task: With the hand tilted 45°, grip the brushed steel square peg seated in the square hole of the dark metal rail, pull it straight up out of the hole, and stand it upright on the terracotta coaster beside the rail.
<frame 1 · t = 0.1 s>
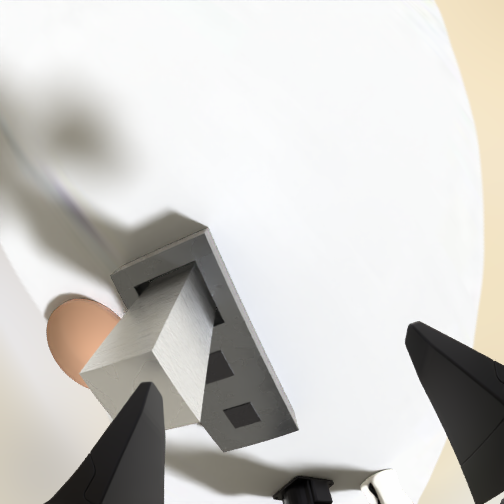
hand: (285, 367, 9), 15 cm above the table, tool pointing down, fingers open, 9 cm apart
rack rail: (184, 291, 25), on the table
terracotta coaster: (91, 345, 25), on the table
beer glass: (377, 479, 33), on the table
steel peg: (167, 329, 18), in the rack rail
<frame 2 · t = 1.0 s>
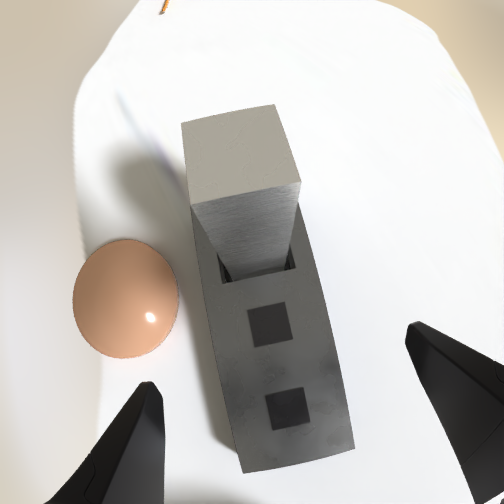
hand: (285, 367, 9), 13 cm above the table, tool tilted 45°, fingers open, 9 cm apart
rack rail: (253, 253, 24), on the table
terracotta coaster: (124, 299, 24), on the table
steel peg: (247, 219, 18), in the rack rail
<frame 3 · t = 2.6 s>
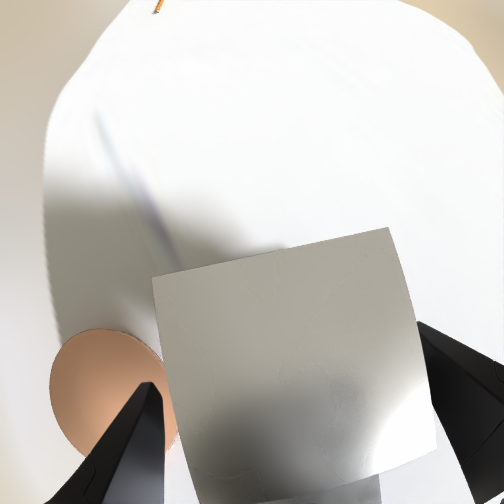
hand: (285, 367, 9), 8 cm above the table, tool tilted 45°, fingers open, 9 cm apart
rack rail: (277, 354, 17), on the table
terracotta coaster: (111, 401, 17), on the table
steel peg: (282, 359, 11), in the rack rail
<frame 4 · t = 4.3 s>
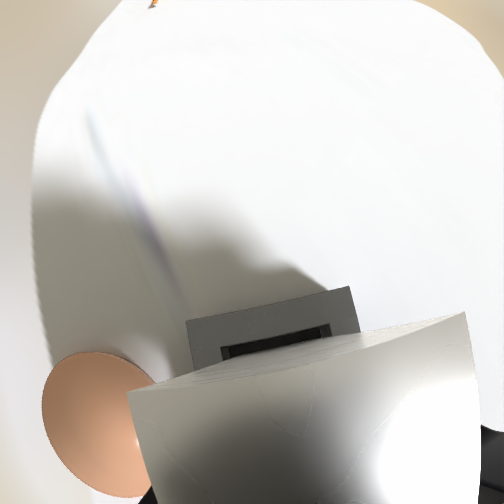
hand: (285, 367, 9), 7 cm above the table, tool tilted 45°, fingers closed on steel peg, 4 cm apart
rack rail: (283, 381, 16), on the table
terracotta coaster: (106, 426, 15), on the table
steel peg: (293, 406, 9), in the rack rail, touching gripper
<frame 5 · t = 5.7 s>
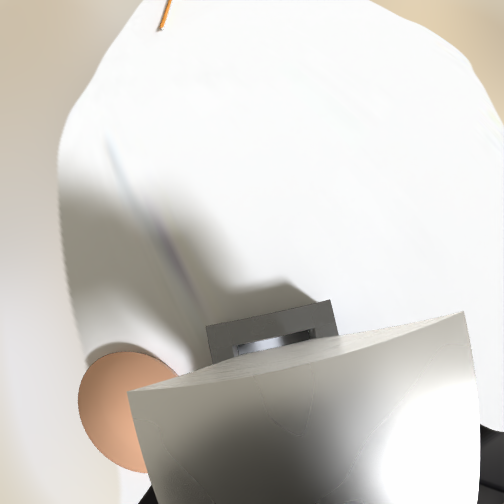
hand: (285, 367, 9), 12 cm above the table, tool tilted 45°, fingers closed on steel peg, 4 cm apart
rack rail: (280, 372, 20), on the table
terracotta coaster: (135, 413, 20), on the table
steel peg: (293, 406, 9), point 12 cm above the table, touching gripper
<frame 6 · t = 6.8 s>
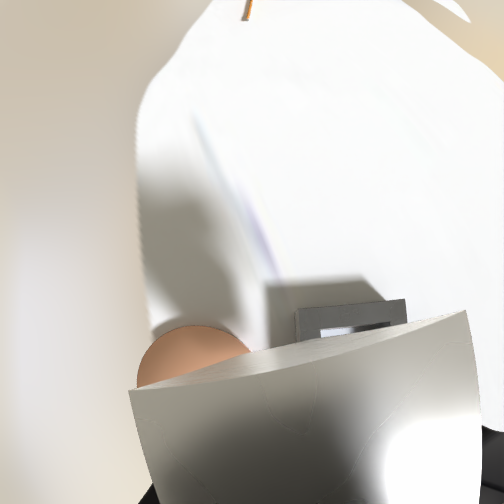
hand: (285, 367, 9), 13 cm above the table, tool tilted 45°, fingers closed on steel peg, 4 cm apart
rack rail: (348, 360, 22), on the table
terracotta coaster: (200, 388, 22), on the table
steel peg: (294, 405, 9), point 13 cm above the table, touching gripper
when the fingers open (9 cm above the table, at t = 8.8 s): steel peg stays where it is, resting on terracotta coaster.
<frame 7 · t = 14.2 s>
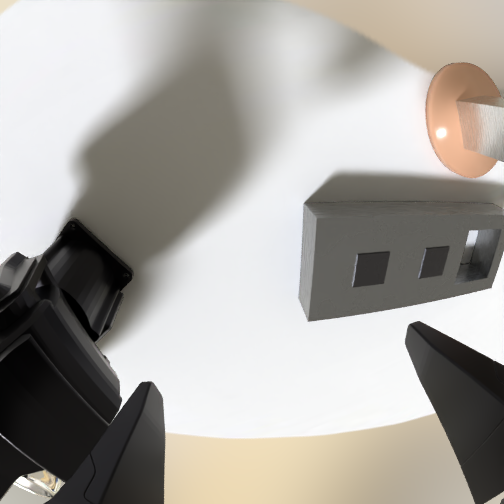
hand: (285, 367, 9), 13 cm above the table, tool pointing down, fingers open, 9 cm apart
rack rail: (460, 242, 24), on the table
terracotta coaster: (467, 119, 18), on the table
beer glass: (63, 359, 26), on the table
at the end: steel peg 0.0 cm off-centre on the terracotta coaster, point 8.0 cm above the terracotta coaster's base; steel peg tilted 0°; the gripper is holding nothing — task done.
